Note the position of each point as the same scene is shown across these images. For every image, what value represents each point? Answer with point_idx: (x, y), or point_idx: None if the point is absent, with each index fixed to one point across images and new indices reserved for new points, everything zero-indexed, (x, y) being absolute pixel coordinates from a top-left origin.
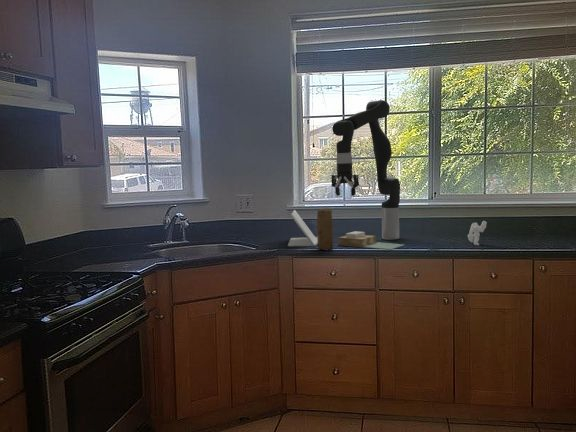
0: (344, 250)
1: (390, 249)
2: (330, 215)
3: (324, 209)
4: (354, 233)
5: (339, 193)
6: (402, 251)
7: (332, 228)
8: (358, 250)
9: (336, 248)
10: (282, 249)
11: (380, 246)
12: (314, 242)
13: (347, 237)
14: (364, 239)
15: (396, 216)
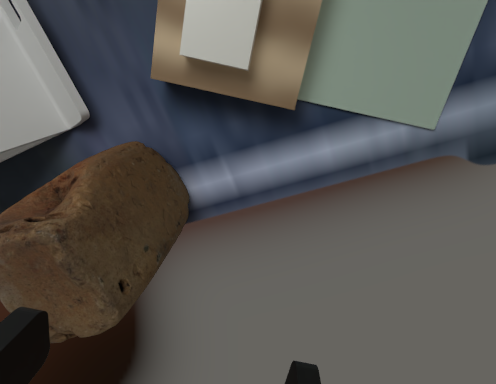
0: (243, 199)
1: (432, 129)
2: (134, 302)
3: (32, 281)
4: (229, 39)
5: (24, 334)
6: (488, 156)
7: (169, 244)
8: (298, 184)
9: (193, 164)
10: None
11: (376, 72)
12: (34, 75)
13: (196, 60)
14: (301, 81)
15: None
